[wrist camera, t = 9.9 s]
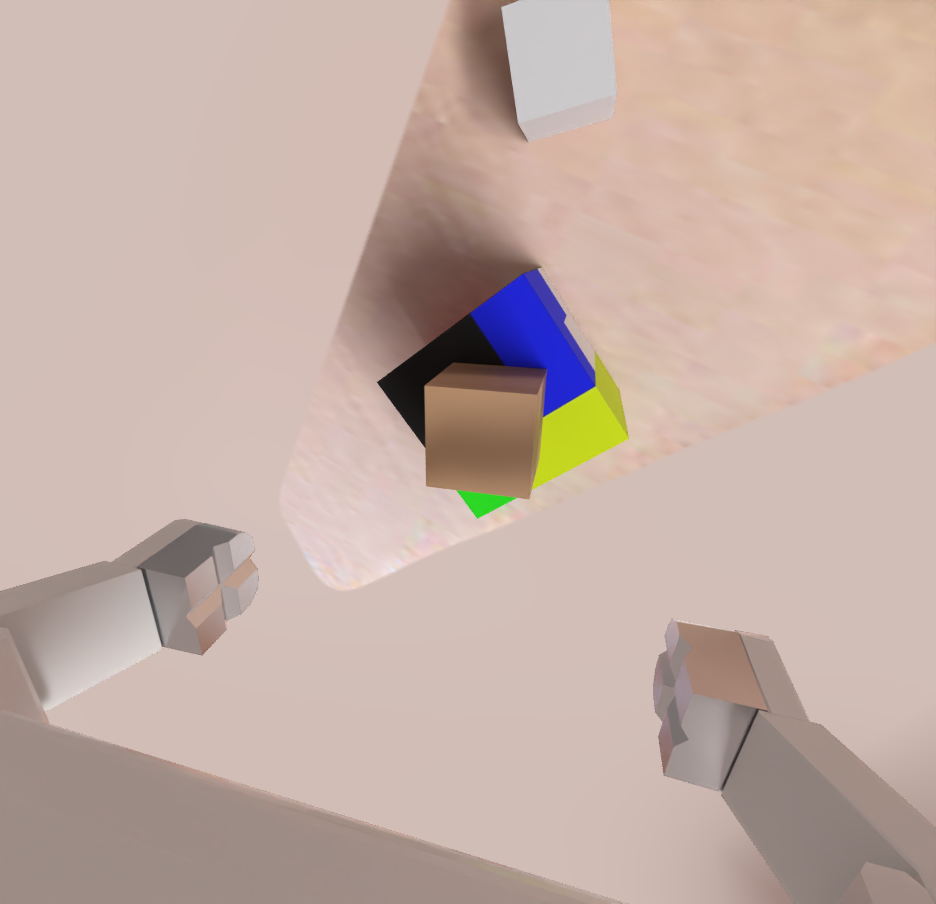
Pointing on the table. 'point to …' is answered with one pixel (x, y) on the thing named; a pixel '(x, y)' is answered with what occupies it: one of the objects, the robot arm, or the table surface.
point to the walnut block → (484, 428)
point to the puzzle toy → (531, 346)
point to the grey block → (560, 64)
